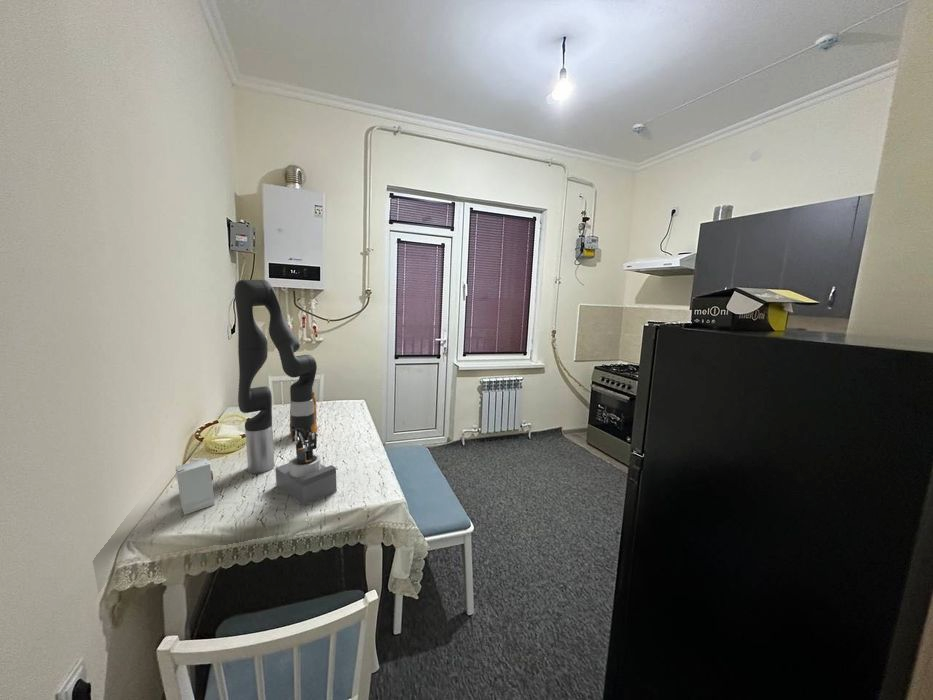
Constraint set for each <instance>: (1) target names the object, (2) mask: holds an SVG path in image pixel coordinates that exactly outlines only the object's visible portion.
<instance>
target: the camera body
mask: <svg viewBox="0 0 933 700" xmlns="http://www.w3.org/2000/svg"><path fill="white" fill-rule="evenodd" d="M275 482H276V483H275V484H276V486H277V487H278V488H279V489H280V490H281V491H283V492H284V493H286V494H287V495H288V496H289V497H291V498H292V500H295V501H296V502H298V504H300V505H301V506H302V507H305V506H309V505H310V504H312V503H314V502H316V501H319V500H320V499H323V498H325V497H327V496H329V495H331V494H334V493H336V492H337V467H335V466H334V465H332V464H330V465H329V466H325V465H324V464H322V463H321V456H320V455H319V454H317V453H313V459H312V462H311V463H308V464H304V465H300V464H297V455H296V456H294V457H292V458H291V459H290V460H289V461H288V462H287V463H284V464H282V465H280V466H277V467H275Z"/></svg>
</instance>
